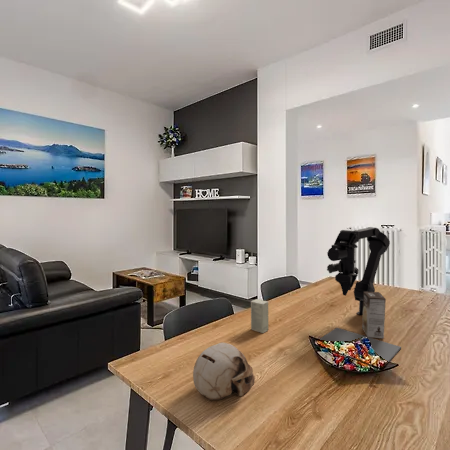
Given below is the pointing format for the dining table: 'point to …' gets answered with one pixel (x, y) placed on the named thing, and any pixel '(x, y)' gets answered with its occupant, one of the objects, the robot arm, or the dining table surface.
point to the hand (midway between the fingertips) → (347, 292)
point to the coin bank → (222, 372)
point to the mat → (380, 347)
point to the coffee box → (373, 314)
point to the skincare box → (259, 315)
